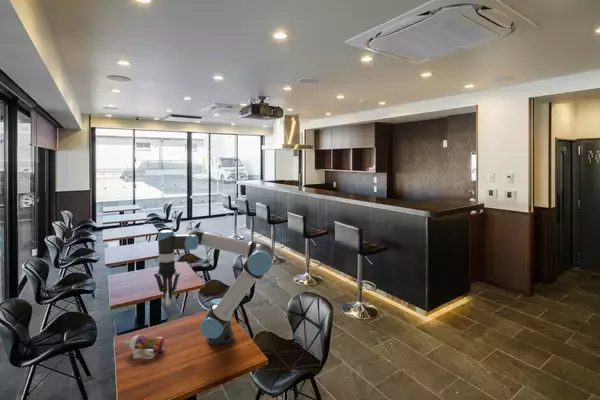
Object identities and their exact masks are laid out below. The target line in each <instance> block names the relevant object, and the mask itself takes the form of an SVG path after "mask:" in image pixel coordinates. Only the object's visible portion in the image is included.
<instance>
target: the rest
mask: <svg viewBox="0 0 600 400" xmlns="http://www.w3.org/2000/svg"><path fill="white" fill-rule="evenodd" d="M157 337H158V338H163V336H157ZM163 339H164V338H163ZM157 354H158V352H154V349H134V350H132V359H146V360H147V359H149V360H151V359H154V358H155V356H156V355H157Z"/></svg>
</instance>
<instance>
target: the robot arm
mask: <svg viewBox="0 0 600 400" xmlns="http://www.w3.org/2000/svg"><path fill="white" fill-rule="evenodd" d="M157 242H158V243H157V244H158V247H157V248H158V261H159V262H158V268H159V269H158V271H157V272H155V273H154V274H153V276H154V277H155V279H156V282H157V287H158V290H159V292H160V293H161V292H162V293H163V298H164V299H165V305H166V306H170V305H171V303H172V301H171V299H172V298H173V292H176V290H177V285H178V281H179V277H180V275H181V272H178V271H177V270H176V268H175V267H176V264H175V263H176V262H175V261H176V260H175V250H178V251H179V250H183V251H193V250H194V251H195V250H197V248H198V247H199V246H203V247H207V248H212V249H214V250H215V249H216V250H220V251H224V252H228V253H233V254H237V255H241V256H244V257H246V258H247V259H246V261H245V262H244V264H242V271H241V273H240V274H239V275H238V276H237V278H236V279H235V281H234V282H233V283H232V285H231V286H230V288H229V289H228V290H227V291H226V292H225V294H224V296H222V298H221V297H220V298H214V299H211V300H210V301H209V305H208V306H209V310H208V311H207V313H206V314H205V316H204V317H203V319H202V321H201V322H200V326H199V327H200V332H201V333H202V335H203V336H204V337H205V338H206V342H207V343H208V344H209V345H211V346H214V347H215V346H216V347H218V346H219V347H221V346H226V345H228V344H230V343H232V342H233V341H234V338H235V333H234V330H233V328H232V327H233V326H232V324H231V323H232V314H233V313H234V311H235V309H236V308H237V307H238V305H239V304H240V303H241V302H242V300H243V299H244V297H245V296H246V295H247V293H248V292H249V291H250V289H251V288H252V287H253V285H254V284H255V283H256V281H257V280H261V279H262V278H264V275H265V274H267V273H268V272H269V271H270V269H271V268H272V265H273V259H274V251H273V248H272V247H271V246H269V245H267V244H266V243H262V242H258V241H253V240H252V241H251V240H250V241H245V240H240V239H236V238H232V237H228V236H223V235H220V234H216V233H210V232H206V231H203V230H202V229H200V228H198V227H195V228H192V229H190V230H189V231H187V232H185V233H184V234H175V232H174V230H172V229H163V230H160V231H159V232H158V235H157ZM173 276H174V279H173ZM161 277H162V278H161Z"/></svg>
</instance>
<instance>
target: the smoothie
mask: <svg viewBox="0 0 600 400" xmlns="http://www.w3.org/2000/svg"><path fill="white" fill-rule="evenodd" d="M158 337H159V336H150V335H146V334H145V335H143V334H137V335H134V336H133V337H132V338H131V339H130V340H129V341H127V340H125V341H124V343H128V344H129V347H130V350H132V351H133V350H134V349H154V352H157V353H161V352H163V351H164V349H165V346H166V339H164V338H158Z"/></svg>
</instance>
